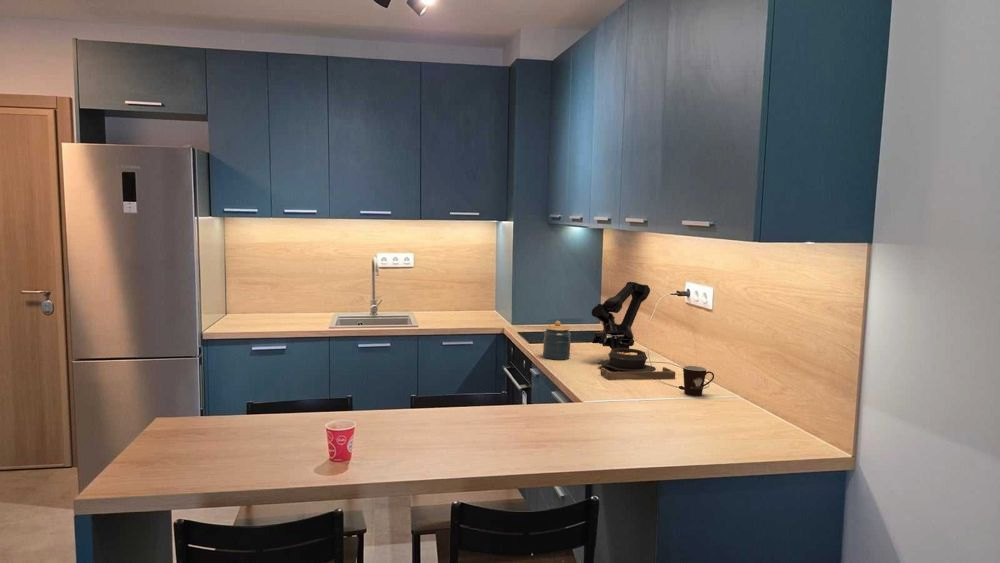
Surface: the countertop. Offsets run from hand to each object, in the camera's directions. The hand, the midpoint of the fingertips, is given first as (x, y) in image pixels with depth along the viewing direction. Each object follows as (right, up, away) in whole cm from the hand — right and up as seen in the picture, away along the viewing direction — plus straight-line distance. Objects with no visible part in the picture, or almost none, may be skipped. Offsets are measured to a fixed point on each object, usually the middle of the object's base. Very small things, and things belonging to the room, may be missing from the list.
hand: (616, 353), depth 291 cm
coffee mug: (+23, -11, -45) cm, 52 cm away
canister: (-26, -4, +15) cm, 30 cm away
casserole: (+3, -6, -7) cm, 10 cm away
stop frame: (+6, -7, -19) cm, 21 cm away
